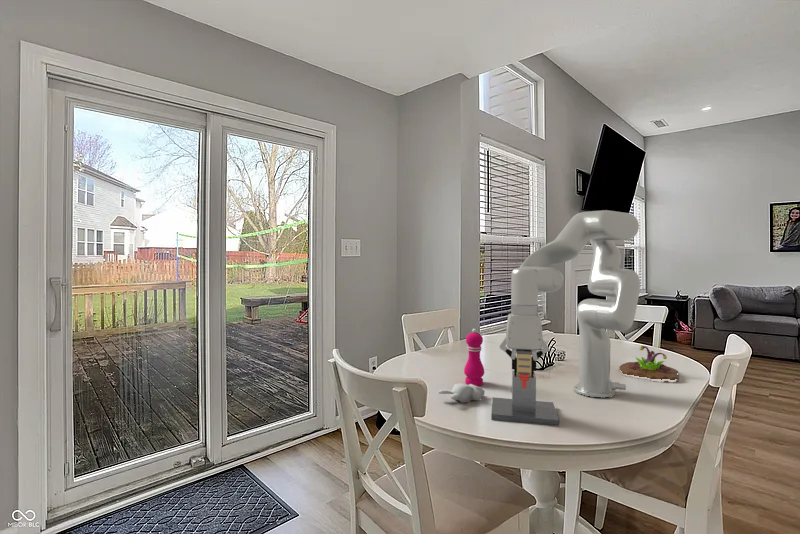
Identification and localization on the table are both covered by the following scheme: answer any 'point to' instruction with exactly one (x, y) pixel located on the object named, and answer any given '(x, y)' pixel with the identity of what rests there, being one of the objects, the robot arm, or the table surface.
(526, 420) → the sleeve
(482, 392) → the grey toy animal
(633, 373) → the plant
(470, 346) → the pepper mill
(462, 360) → the table surface
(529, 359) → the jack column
